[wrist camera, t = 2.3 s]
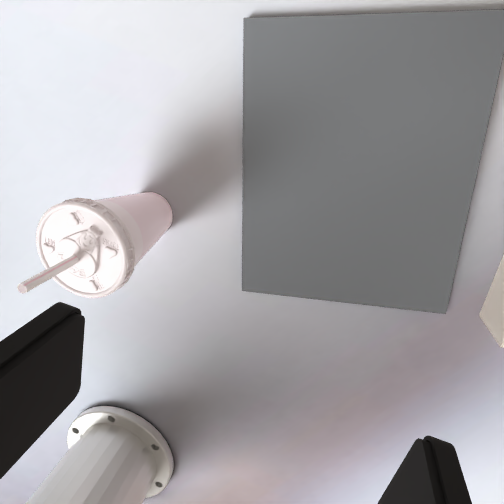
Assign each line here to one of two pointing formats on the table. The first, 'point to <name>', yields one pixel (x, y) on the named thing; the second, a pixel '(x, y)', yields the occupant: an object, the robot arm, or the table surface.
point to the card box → (495, 306)
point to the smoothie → (98, 241)
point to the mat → (363, 152)
